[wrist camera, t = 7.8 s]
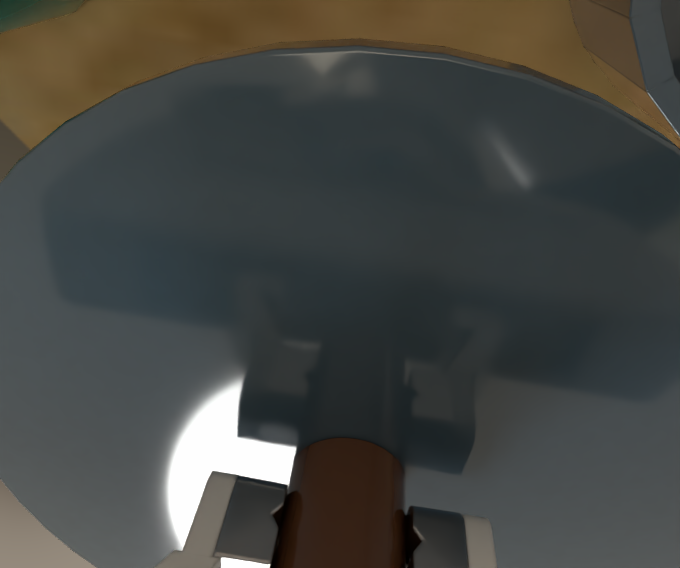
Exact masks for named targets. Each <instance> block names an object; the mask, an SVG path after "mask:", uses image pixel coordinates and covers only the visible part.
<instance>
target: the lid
mask: <svg viewBox="0 0 680 568" xmlns="http://www.w3.org/2000/svg"><path fill="white" fill-rule="evenodd" d="M212 471H219V472H224V473H230V474H236V475H240V476H245V477H250V478H256V479H261V480H267V481H272V482H277V483H283V484H288V492H287V498H286V503H285V508H284V513H283V518H282V523H281V526H280V528H279V531H278V537H277V546H276V552H275V556H274V561H273V566H272V568H406V514H407V511H408V508H409V507H410V506H411V505H412V506H419V507H425V508H432V509H438V510H444V511H451V512H457V513H460V514H464V515H471V516H477V517H484V518H487V519H488V520H489V522H490V524H491V528H492V535H493V542H494V549H495V556H496V563H497V568H680V149H679V148H678V147H677V146H676V145H675V144H673V143H672V142H671V141H670V140H669V139H667V138H666V137H665V136H664V135H663V134H661V133H660V132H658V131H656V130H655V129H653V128H651V127H650V126H648V125H646V124H645V123H643V122H641V121H640V120H638V119H636V118H634V117H633V116H631V115H629V114H628V113H626V112H624V111H623V110H621V109H619V108H618V107H616V106H614V105H613V104H611V103H609V102H608V101H606V100H604V99H603V98H601V97H599V96H598V95H595V94H593V93H590V92H588V91H585V90H583V89H580V88H578V87H575V86H573V85H570V84H568V83H565V82H563V81H560V80H558V79H555V78H553V77H550V76H548V75H545V74H543V73H540V72H538V71H535V70H533V69H531V68H528V67H526V66H523V65H519V64H514V63H510V62H506V61H502V60H498V59H494V58H490V57H485V56H481V55H477V54H473V53H469V52H465V51H461V50H456V49H452V48H448V47H444V46H434V45H424V44H413V43H403V42H392V41H382V40H371V39H340V40H319V41H298V42H279V43H274V44H269V45H264V46H258V47H253V48H248V49H243V50H238V51H233V52H228V53H223V54H217V55H212V56H207V57H203V58H200V59H198V60H195V61H192V62H189V63H186V64H184V65H181V66H178V67H175V68H173V69H170V70H167V71H164V72H161V73H159V74H156V75H153V76H150V77H147V78H145V79H142V80H139V81H137V82H135V83H133V84H131V85H130V86H128V87H126V88H124V89H122V90H121V91H119V92H117V93H115V94H113V95H112V96H110V97H108V98H106V99H104V100H103V101H101V102H99V103H97V104H95V105H94V106H92V107H90V108H88V109H86V110H85V111H83V112H81V113H79V114H78V115H76V116H74V117H73V118H71V119H69V120H67V121H66V122H64V123H63V124H62V125H61V126H59V127H58V128H57V129H56V130H55V131H53V132H52V133H51V134H50V135H48V136H47V137H46V138H45V139H44V140H42V141H41V142H40V143H39V144H37V145H36V146H35V147H34V148H33V149H31V150H30V151H29V152H28V153H27V154H25V155H24V156H23V157H22V158H20V159H19V160H18V162H16V164H15V165H14V166H13V167H12V169H11V170H10V171H9V172H8V173H7V174H6V176H5V177H4V178H3V179H2V180H1V182H0V480H1V481H2V482H3V483H4V484H5V486H6V487H7V488H8V489H9V491H10V492H11V493H12V494H13V496H14V497H15V498H16V499H17V501H18V502H19V503H20V504H21V505H22V506H23V507H24V508H25V509H26V510H27V511H28V512H29V513H30V514H31V515H32V516H33V517H34V518H35V519H36V520H37V521H38V522H39V523H40V524H41V525H42V526H43V527H45V528H46V529H47V530H48V531H49V532H50V533H52V534H53V535H54V536H55V537H57V538H58V539H59V540H60V541H61V542H62V543H64V544H65V545H66V546H67V547H68V548H70V549H71V550H72V551H73V552H75V553H77V554H78V555H79V556H81V557H82V558H83V559H85V560H86V561H88V562H89V563H91V564H92V565H94V566H95V567H96V568H154V567H156V566H157V565H158V564H159V563H160V562H161V561H162V560H164V559H165V558H166V557H167V556H168V555H169V554H170V553H172V552H173V551H174V550H177V551H182V550H183V547H184V544H185V541H186V539H187V536H188V533H189V530H190V527H191V525H192V522H193V519H194V516H195V513H196V511H197V508H198V505H199V502H200V499H201V497H202V494H203V491H204V488H205V485H206V483H207V480H208V478H209V476H210V474H211V473H212Z"/></svg>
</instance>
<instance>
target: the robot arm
mask: <svg viewBox="0 0 680 568" xmlns="http://www.w3.org/2000/svg"><path fill="white" fill-rule="evenodd" d="M287 492H288V484H283V483H277V482H272V481H267V480H261V479H256V478H250V477H245V476H240V475H236V474H230V473H224V472H219V471H212V473H211V474H210V476H209V478H208V480H207V483H206V485H205V488H204V491H203V494H202V497H201V499H200V502H199V505H198V508H197V511H196V513H195V516H194V519H193V522H192V525H191V527H190V530H189V533H188V536H187V539H186V541H185V544H184V547H183V550H182V551H177V550H174V551H173V552H172V553H170V554H169V555H168V556H167V557H166V558H165V559H164V560H162V561H161V562H160V563H159V564H158V565H157V566H156V567H154V568H272V566H273V561H274V556H275V552H276V546H277V537H278V531H279V528H280V526H281V523H282V518H283V513H284V508H285V503H286V498H287ZM406 568H497V563H496V556H495V549H494V542H493V535H492V528H491V524H490V522H489V520H488V519H487V518H484V517H477V516H471V515H464V514H460V513H457V512H451V511H444V510H438V509H432V508H425V507H419V506H412V505H411V506H410V507H409V508H408V511H407V514H406Z"/></svg>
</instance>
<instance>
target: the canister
mask: <svg viewBox="0 0 680 568" xmlns="http://www.w3.org/2000/svg"><path fill="white" fill-rule="evenodd" d="M569 3H570V7H571V11H572V15H573V20H574V23H575V25H576V28H577V30H578V33H579V36H580V38H581V41H582V44H583V46H584V48H585V49H586V51H587V52H588V53H589V55H590V56H591V58H592V60H593V61H594V63H595V64H596V65H597V66H598V67H599V69H600V70H601V71H602V72H603V73H604V75H605V76H606V77H607V78H608V80H609V81H610V82H611V84H612V85H613V86H614V87H615V88H616V89H617V90H619V91H620V92H621V93H622V94H624V95H625V96H626V97H627V98H628V99H630V100H631V101H632V102H633V103H634V104H636V105H637V106H638V107H639V108H641V109H642V110H643V111H644V112H645V113H647V114H648V115H649V116H650V117H652V118H653V119H654V120H655V121H656V122H658V123H659V124H660V125H661V126H663V127H664V128H665V129H666V130H667V131H669V132H670V133H671V134H672V135H674V136H675V137H676V138H677V139H678V140H680V0H569Z"/></svg>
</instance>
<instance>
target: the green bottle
mask: <svg viewBox="0 0 680 568" xmlns="http://www.w3.org/2000/svg"><path fill="white" fill-rule="evenodd" d="M83 2H84V0H0V34H2V33H5V32H9V31H13V30H16V29H20V28H23V27H27V26H31V25H34V24H38V23H41V22H45V21H48V20H52V19H56V18H59V17H62V16H65V15H68V14H70V13H73V12H75V11H76V10H77V9H78V8H79V6H80V5H81V4H82V3H83Z"/></svg>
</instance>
